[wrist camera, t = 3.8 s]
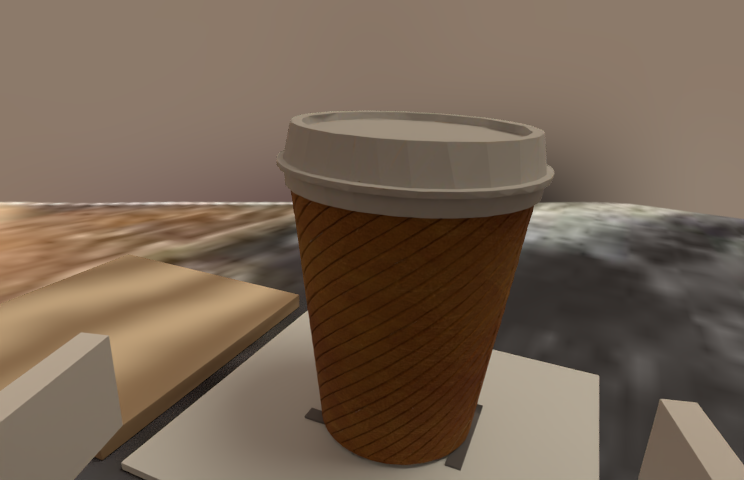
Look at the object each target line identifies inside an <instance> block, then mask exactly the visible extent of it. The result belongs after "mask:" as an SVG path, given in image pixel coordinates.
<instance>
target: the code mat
mask: <svg viewBox="0 0 744 480" xmlns="http://www.w3.org/2000/svg"><path fill="white" fill-rule="evenodd" d="M313 350H314V349H313V343H312V335H311V329H310V323H309V315H308V311H306V312H305V313H304V314H303V315H302V316H300V317H299V318H298V319H297V320H295V321H294V322H293V323H292V324H290V325H289V326H288V327H287V328H286V329H284V330H283V331H282V332H281V333H279V334H278V335H277V336H276V337H275V338H273V339H272V340H271V341H270V342H268V343H267V344H266V345H265V346H263V347H262V348H261V349H260V350H259V351H257V352H256V353H255V354H254V355H252V356H251V357H250V358H249V359H248V360H246V361H245V362H244V363H243V364H241V365H240V366H239V367H238V368H236V369H235V370H234V371H233V372H232V373H230V374H229V375H228V376H227V377H225V378H224V379H223V380H222V381H221V382H219V383H218V384H217V385H216V386H214V387H213V388H212V389H211V390H209V391H208V392H207V393H206V394H205V395H203V396H202V397H201V398H200V399H198V400H197V401H196V402H195V403H194V404H192V405H191V406H190V407H189V408H187V409H186V410H185V411H184V412H182V413H181V414H180V415H179V416H178V417H176V418H175V419H174V420H173V421H171V422H170V423H169V424H168V425H167V426H165V427H164V428H163V429H162V430H160V431H159V432H158V433H157V434H155V435H154V436H153V437H152V438H151V439H149V440H148V441H147V442H146V443H144V444H143V445H142V446H141V447H140V448H138V449H137V450H136V451H135V452H133V453H132V454H131V455H130V456H128V457H127V458H126V459H125V460H124V461H122V462H121V466H122V469H123V470H125V471H127V472H130V473H132V474H134V475H136V476H138V477H141V478H143V479H145V480H599V376H598V375H594V374H590V373H586V372H582V371H578V370H574V369H570V368H566V367H562V366H558V365H553V364H549V363H545V362H541V361H537V360H533V359H529V358H525V357H521V356H517V355H513V354H508V353H504V352H500V351H496V350H492V354H491V357H490V360H489V364H488V368H487V371H486V375H485V378H484V382H483V385H482V389H481V392H480V395H479V399H478V403H477V407H476V409H475V413H474V416H473V420H472V423H471V428H470V430H469V433H468V435H467V437H466V439H465V441H464V442H463V443H462V444H461V445H460V446H459V447H458V448H457V449H455V450H454V451H453V452H451V453H450V454H448V455H446V456H444V457H442V458H440V459H437V460H433V461H430V462H426V463H421V464H411V465H394V464H385V463H380V462H376V461H372V460H369V459H366V458H364V457H361V456H358V455H356V454H354V453H353V452H351V451H349V450H347V449H346V448H344V447H343V446H342V445H340V444H339V443H338V442H337V441H336V440H335V439H334V438H333V437H332V436H331V434H330V433H329V432H328V430H327V428H326V426H325V423H324V421H323V417H322V409H321V401H320V394H319V386H318V379H317V371H316V365H315V357H314V351H313Z"/></svg>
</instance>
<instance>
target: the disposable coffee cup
mask: <svg viewBox="0 0 744 480" xmlns="http://www.w3.org/2000/svg"><path fill="white" fill-rule="evenodd" d="M276 158H277V166H278V167H279V168H280V170H281V171H283V172H284V176H285V184H286V186H287V187H288V188H289V189H290V190H291V195H292V201H293V209H294V214H295V220H296V227H297V235H298V242H299V249H300V256H301V265H302V271H303V278H304V285H305V292H306V300H307V306H308V307H307V308H308V315H309V323H310V329H311V335H312V343H313V349H314V350H313V351H314V357H315V365H316V371H317V379H318V386H319V394H320V401H321V409H322V417H323V421H324V423H325V426H326V428H327V430H328V432H329V433H330V434H331V436H332V437H333V438H334V439H335V440H336V441H337V442H338V443H339V444H340V445H342V446H343V447H344V448H346V449H347V450H349V451H351V452H353V453H354V454H356V455H358V456H361V457H364V458H366V459H369V460H372V461H376V462H380V463H385V464H394V465H411V464H421V463H426V462H430V461H433V460H437V459H440V458H442V457H444V456H446V455H448V454H450V453H451V452H453V451H454V450H455V449H457V448H458V447H459V446H460V445H461V444H462V443H463V442H464V441H465V439H466V437H467V435H468V433H469V430H470V428H471V423H472V420H473V416H474V413H475V409H476V407H477V403H478V399H479V395H480V392H481V389H482V385H483V382H484V378H485V375H486V371H487V368H488V364H489V360H490V357H491V354H492V350H493V346H494V343H495V339H496V336H497V333H498V330H499V327H500V324H501V319H502V316H503V313H504V310H505V305H506V302H507V299H508V296H509V292H510V288H511V285H512V282H513V279H514V274H515V271H516V268H517V265H518V261H519V256H520V252H521V249H522V245H523V242H524V239H525V235H526V232H527V227H528V224H529V221H530V218H531V215H532V212H533V207H534V205H535V204H537V203H539V202H540V199H541V197H542V195H543V190H544V188H545V187H546V186H549V185H550V184H551V181H552V179H553V176H554V173H555V172H554V171H553V169H552V168H551V167H550V166H548V165H547V162H546V146H545V133H544V131H543V130H541V129H538V128H535V127H533V126H530V125H525V124H521V123H516V122H510V121H504V120H498V119H490V118H481V117H472V116H462V115H452V114H436V113H420V112H398V111H397V112H396V111H338V112H337V111H335V112H320V113H312V114H303V115H298V116H296V117H293V118H292V119H291V121H290V124H289V129H288V134H287V139H286V145H285V150H283V151H281V152H280V153H279V154H278V155H277V156H276Z"/></svg>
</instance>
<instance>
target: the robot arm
mask: <svg viewBox="0 0 744 480" xmlns="http://www.w3.org/2000/svg"><path fill="white" fill-rule="evenodd" d="M122 426H123V423H122V417H121V410H120V404H119V397H118V391H117V384H116V378H115V371H114V365H113V358H112V352H111V345H110V339H109V335H100V334H91V333H83V332H81V333H79V334H78V335H77V336H75V337H74V338H73V339H71V340H70V341H68V342H67V343H66V344H64V345H63V346H62V347H60V348H59V349H57V350H56V351H55V352H53V353H52V354H51V355H49V356H48V357H46V358H45V359H44V360H42V361H41V362H40V363H38V364H37V365H35V366H34V367H33V368H31V369H30V370H29V371H27V372H26V373H24V374H23V375H22V376H20V377H19V378H18V379H16V380H15V381H13V382H12V383H11V384H9V385H8V386H7V387H5V388H4V389H2V390H1V391H0V480H74V479H75V478H76V477H77V475H78V474H79V473H80V472H81V471H82V470H83V469H84V468H85V467H86V465H87V464H88V463H89V462H90V461H91V460H92V459H93V458H94V457H95V455H96V454H97V453H98V452H99V451H100V450H101V449H102V448H103V447H104V445H105V444H106V443H107V442H108V441H109V440H110V439H111V438H112V437H113V436H114V434H115V433H116V432H117V431H118V430H119V429H120V428H121V427H122ZM638 480H744V465H743V464H742V462H741V461H740V460H739V458H738V457H737V456H736V454H735V453H734V452H733V450H732V449H731V448H730V446H729V445H728V444H727V442H726V441H725V440H724V438H723V437H722V436H721V434H720V433H719V432H718V430H717V429H716V428H715V426H714V425H713V423H712V422H711V421H710V419H709V418H708V417H707V415H706V414H705V413H704V411H703V410H702V409H701V407H700V406H699V405H698V403H694V402H685V401H676V400H667V399H660V401H659V405H658V408H657V412H656V416H655V419H654V423H653V427H652V430H651V434H650V437H649V441H648V445H647V448H646V452H645V456H644V459H643V463H642V466H641V470H640V474H639V477H638Z"/></svg>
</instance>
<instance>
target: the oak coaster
mask: <svg viewBox="0 0 744 480" xmlns="http://www.w3.org/2000/svg"><path fill="white" fill-rule="evenodd" d="M298 307H299V295H297V294H293V293H289V292H285V291H280V290H276V289H272V288H268V287H264V286H259V285H255V284H251V283H247V282H243V281H238V280H234V279H230V278H226V277H222V276H217V275H213V274H209V273H205V272H201V271H196V270H192V269H188V268H184V267H180V266H175V265H171V264H167V263H163V262H159V261H154V260H150V259H146V258H142V257H138V256H133V255H129V254H128V255H126V256H123V257H120V258H118V259H115V260H113V261H110V262H107V263H105V264H102V265H100V266H97V267H94V268H92V269H89V270H87V271H84V272H81V273H79V274H76V275H74V276H71V277H68V278H66V279H63V280H61V281H58V282H56V283H53V284H50V285H48V286H45V287H43V288H40V289H37V290H35V291H32V292H30V293H27V294H24V295H22V296H19V297H17V298H14V299H11V300H9V301H6V302H4V303H1V304H0V391H1V390H2V389H4V388H5V387H7V386H8V385H9V384H11V383H12V382H13V381H15V380H16V379H18V378H19V377H20V376H22V375H23V374H24V373H26V372H27V371H29V370H30V369H31V368H33V367H34V366H35V365H37V364H38V363H40V362H41V361H42V360H44V359H45V358H46V357H48V356H49V355H51V354H52V353H53V352H55V351H56V350H57V349H59V348H60V347H62V346H63V345H64V344H66V343H67V342H68V341H70V340H71V339H73V338H74V337H75V336H77V335H78V334H79V333H81V332H83V333H91V334H100V335H109V339H110V345H111V352H112V358H113V365H114V371H115V378H116V384H117V391H118V397H119V404H120V410H121V417H122V423H123V426H122V427H121V428H120V429H119V430H118V431H117V432H116V433H115V434H114V436H113V437H112V438H111V439H110V440H109V441H108V442H107V443H106V444H105V445H104V447H103V448H102V449H101V450H100V451H99V452H98V453H97V454H96V455H95V457H96V458H98V459H101V460H103V459H104V458H106V457H107V456H108V455H110V454H111V453H112V452H113V451H115V450H116V449H117V448H119V447H120V446H121V445H122V444H124V443H125V442H126V441H127V440H129V439H130V438H131V437H133V436H134V435H135V434H136V433H138V432H139V431H140V430H142V429H143V428H144V427H145V426H147V425H148V424H149V423H151V422H152V421H153V420H154V419H156V418H157V417H158V416H160V415H161V414H162V413H163V412H165V411H166V410H167V409H169V408H170V407H171V406H172V405H174V404H175V403H176V402H178V401H179V400H180V399H181V398H183V397H184V396H185V395H187V394H188V393H189V392H190V391H192V390H193V389H194V388H196V387H197V386H198V385H199V384H201V383H202V382H203V381H204V380H206V379H207V378H208V377H210V376H211V375H212V374H213V373H215V372H216V371H217V370H219V369H220V368H221V367H222V366H224V365H225V364H226V363H228V362H229V361H230V360H231V359H233V358H234V357H235V356H237V355H238V354H239V353H240V352H242V351H243V350H244V349H246V348H247V347H248V346H249V345H251V344H252V343H253V342H255V341H256V340H257V339H258V338H260V337H261V336H262V335H264V334H265V333H266V332H267V331H269V330H270V329H271V328H272V327H274V326H275V325H276V324H278V323H279V322H280V321H281V320H283V319H284V318H285V317H287V316H288V315H289V314H290V313H292V312H293V311H294V310H296V309H297V308H298Z"/></svg>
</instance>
